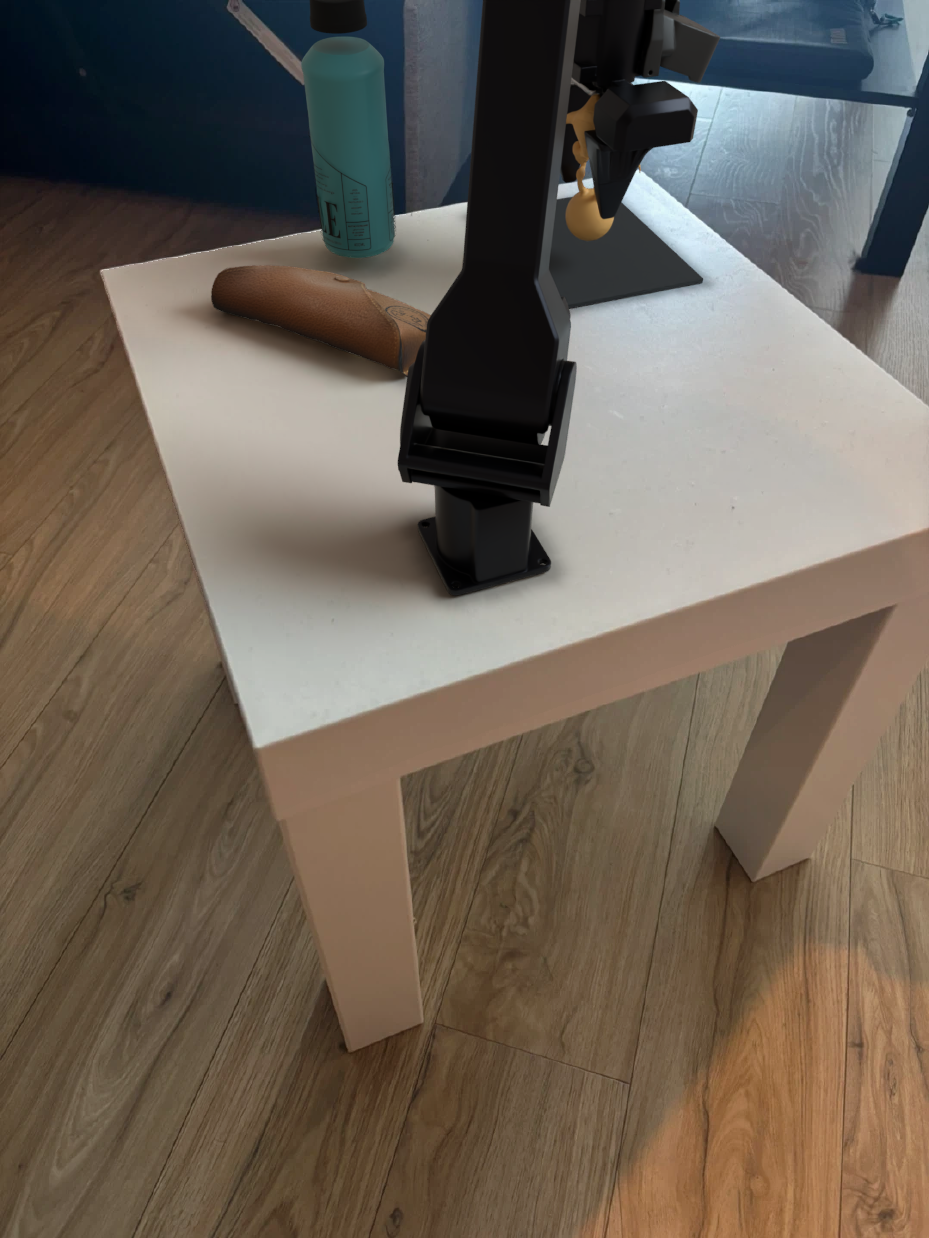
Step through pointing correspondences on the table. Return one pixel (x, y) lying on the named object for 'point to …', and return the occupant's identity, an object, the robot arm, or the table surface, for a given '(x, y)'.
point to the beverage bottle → (349, 133)
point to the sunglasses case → (324, 311)
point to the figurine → (583, 204)
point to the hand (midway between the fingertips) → (588, 199)
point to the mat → (613, 261)
